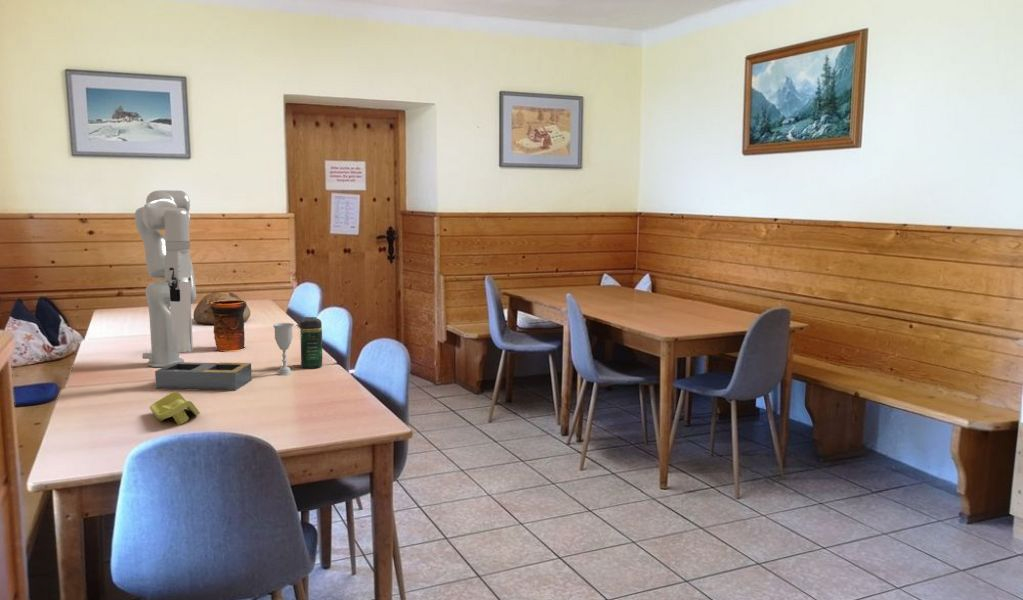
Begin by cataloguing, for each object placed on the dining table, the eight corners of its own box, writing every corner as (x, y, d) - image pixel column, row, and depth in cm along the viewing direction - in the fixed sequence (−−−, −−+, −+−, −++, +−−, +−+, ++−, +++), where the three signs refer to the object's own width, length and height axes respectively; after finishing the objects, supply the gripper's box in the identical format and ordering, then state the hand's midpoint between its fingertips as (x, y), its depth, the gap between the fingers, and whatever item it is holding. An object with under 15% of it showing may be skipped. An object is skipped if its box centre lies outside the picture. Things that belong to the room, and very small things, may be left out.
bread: (184, 324, 386) (183, 294, 384) (211, 317, 409) (209, 289, 407) (234, 326, 382) (232, 296, 380) (258, 319, 404) (257, 290, 402)
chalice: (299, 372, 286) (297, 323, 284) (287, 376, 280) (286, 326, 277) (281, 370, 289) (280, 322, 286) (270, 374, 282) (268, 325, 280)
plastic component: (148, 406, 232) (179, 387, 236) (161, 426, 234) (192, 408, 239) (159, 417, 215) (193, 397, 220) (174, 439, 218) (207, 419, 222)
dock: (156, 388, 261) (155, 370, 260) (176, 379, 275) (175, 361, 274) (235, 390, 260) (234, 372, 259) (251, 380, 274) (251, 363, 273)
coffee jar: (323, 368, 293) (322, 319, 291) (301, 369, 291) (300, 320, 288) (322, 362, 302) (320, 315, 300) (300, 364, 300) (299, 316, 298)
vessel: (203, 350, 324) (201, 302, 322) (227, 345, 337) (226, 298, 335) (230, 353, 319) (229, 304, 317) (254, 347, 332) (253, 300, 330)
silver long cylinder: (185, 353, 263) (182, 279, 259) (168, 352, 264) (164, 278, 260) (197, 349, 269) (193, 276, 265) (180, 348, 270) (176, 276, 267)
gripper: (179, 244, 270) (181, 295, 273) (153, 248, 253) (156, 303, 256) (200, 244, 270) (202, 296, 272) (176, 248, 253) (179, 303, 255)
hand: (180, 299), depth 264 cm, fingers closed on silver long cylinder, 6 cm apart
